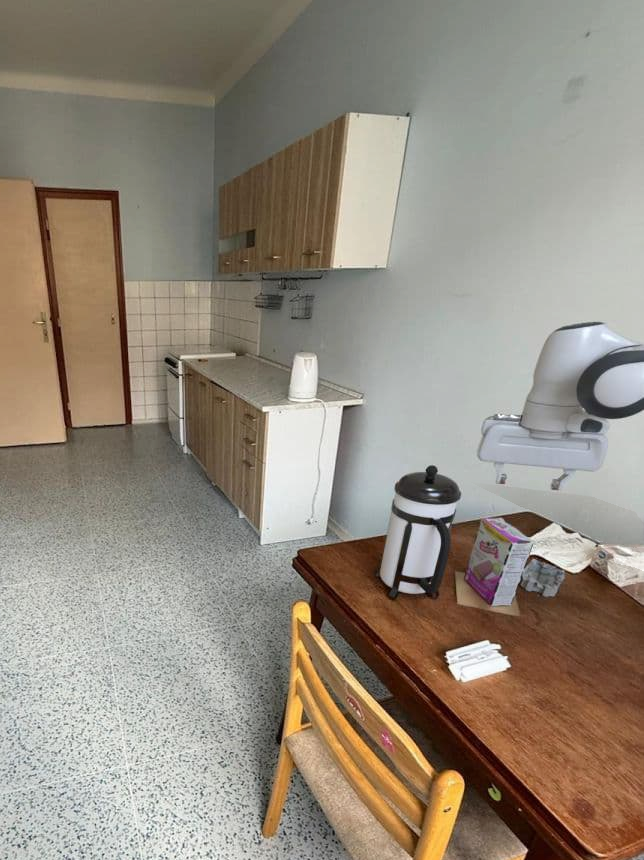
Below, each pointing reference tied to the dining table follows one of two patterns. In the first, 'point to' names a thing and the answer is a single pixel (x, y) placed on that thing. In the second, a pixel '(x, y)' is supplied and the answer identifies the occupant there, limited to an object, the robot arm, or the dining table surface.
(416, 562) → the coffee press
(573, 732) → the dining table surface
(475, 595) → the cork pad
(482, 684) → the dining table surface
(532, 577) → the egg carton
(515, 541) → the candy bar box
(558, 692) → the dining table surface
